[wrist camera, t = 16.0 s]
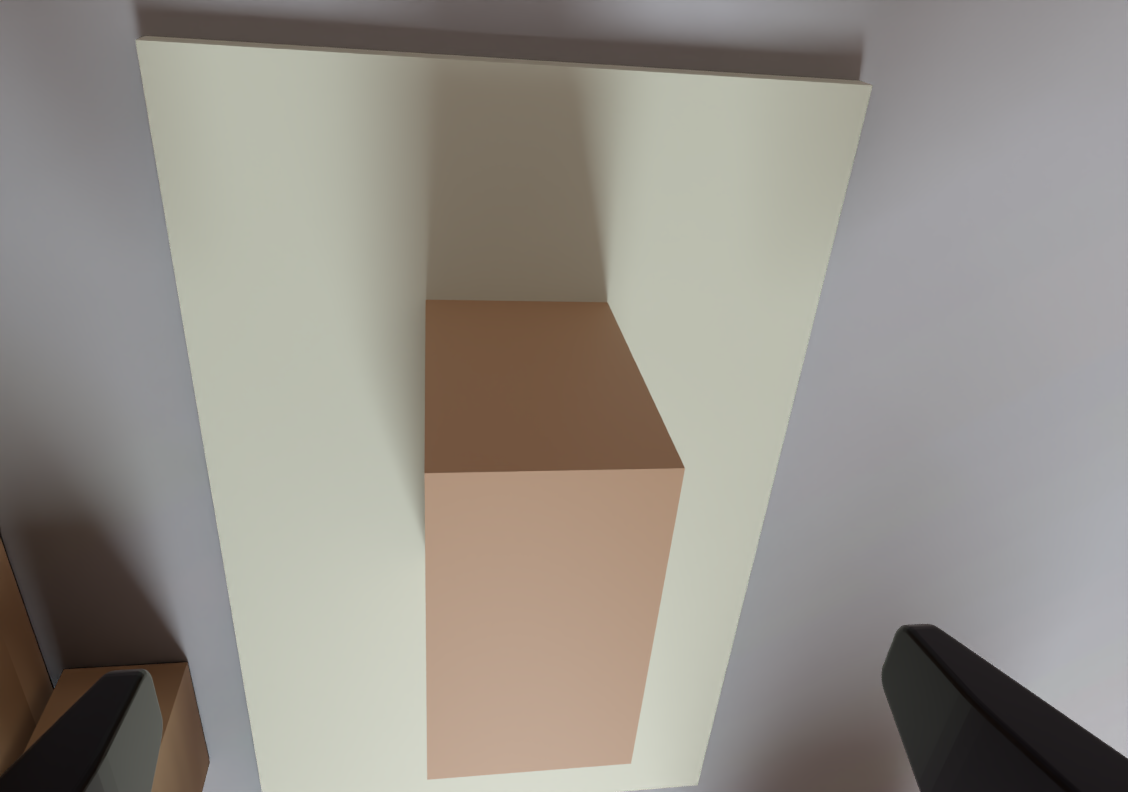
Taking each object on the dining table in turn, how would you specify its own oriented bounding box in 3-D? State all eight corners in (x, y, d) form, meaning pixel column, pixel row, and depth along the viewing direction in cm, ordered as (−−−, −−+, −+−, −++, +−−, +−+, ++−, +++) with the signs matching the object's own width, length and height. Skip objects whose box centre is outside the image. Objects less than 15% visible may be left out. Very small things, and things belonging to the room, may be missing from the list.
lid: (685, 748, 20) (764, 998, 16) (274, 780, 19) (222, 1069, 14) (841, 73, 12) (1092, 168, 8) (157, 30, 11) (-46, 115, 6)
